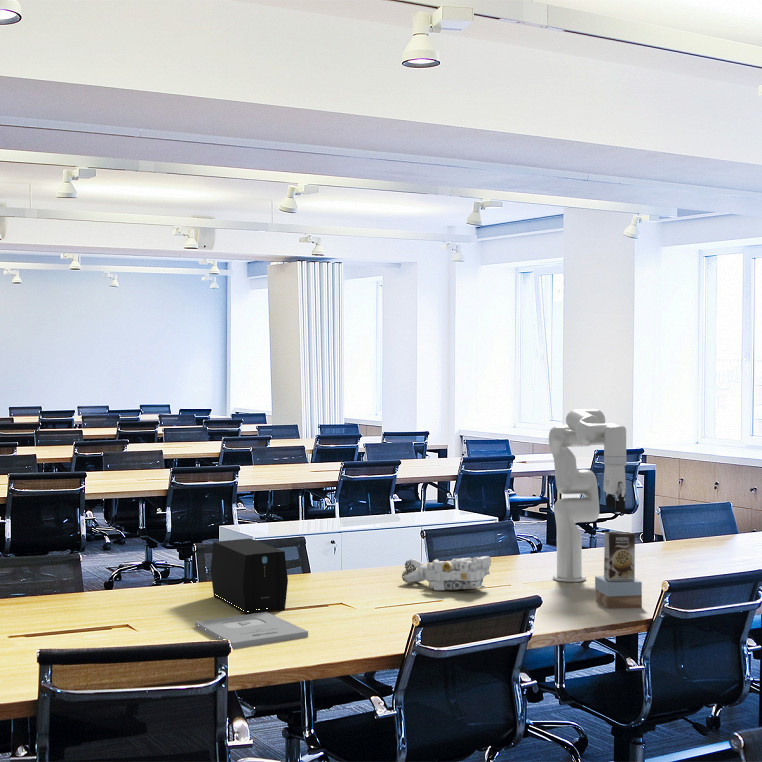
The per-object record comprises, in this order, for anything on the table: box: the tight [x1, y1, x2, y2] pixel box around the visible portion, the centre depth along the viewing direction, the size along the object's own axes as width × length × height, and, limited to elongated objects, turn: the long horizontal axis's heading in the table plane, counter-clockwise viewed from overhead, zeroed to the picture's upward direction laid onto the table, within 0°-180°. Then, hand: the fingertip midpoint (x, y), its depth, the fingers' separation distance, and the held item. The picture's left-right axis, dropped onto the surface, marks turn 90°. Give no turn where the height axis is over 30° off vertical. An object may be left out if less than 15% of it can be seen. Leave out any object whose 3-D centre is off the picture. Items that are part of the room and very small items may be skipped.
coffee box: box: [603, 531, 636, 581], centre depth 338 cm, size 9×6×16 cm
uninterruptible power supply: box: [210, 538, 289, 615], centre depth 345 cm, size 16×34×20 cm, turn 29°
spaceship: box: [401, 555, 492, 591], centre depth 367 cm, size 16×35×12 cm, turn 61°
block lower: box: [595, 589, 643, 610], centre depth 339 cm, size 12×12×4 cm
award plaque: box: [194, 612, 309, 650], centre depth 304 cm, size 25×30×2 cm
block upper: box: [594, 575, 643, 597], centre depth 339 cm, size 12×12×4 cm
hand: (615, 510), depth 340 cm, fingers open, 9 cm apart
